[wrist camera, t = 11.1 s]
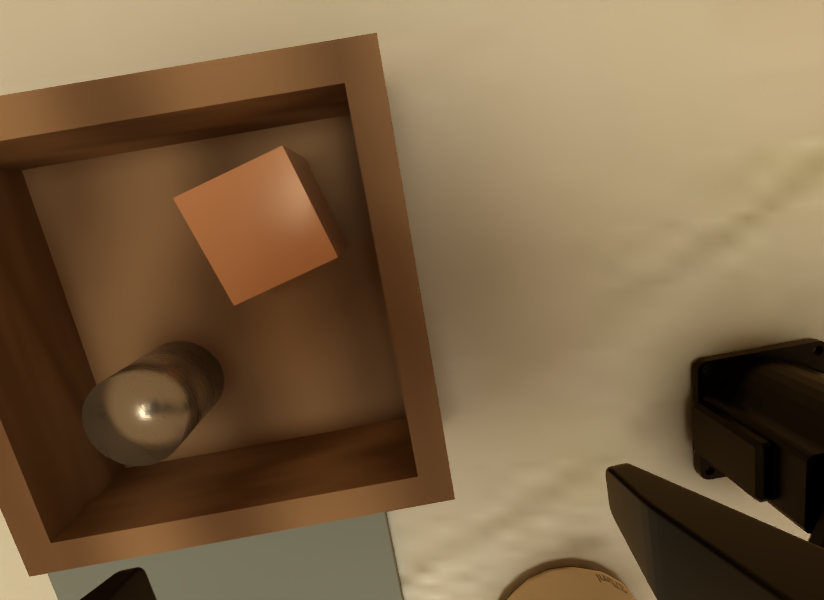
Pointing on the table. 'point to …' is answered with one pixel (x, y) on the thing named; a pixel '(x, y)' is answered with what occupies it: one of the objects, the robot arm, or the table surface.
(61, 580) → the lid
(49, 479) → the box
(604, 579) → the supplement can
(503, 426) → the table surface
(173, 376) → the grey metal cylinder
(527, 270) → the table surface
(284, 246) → the terracotta cube
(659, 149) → the table surface
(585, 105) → the table surface
